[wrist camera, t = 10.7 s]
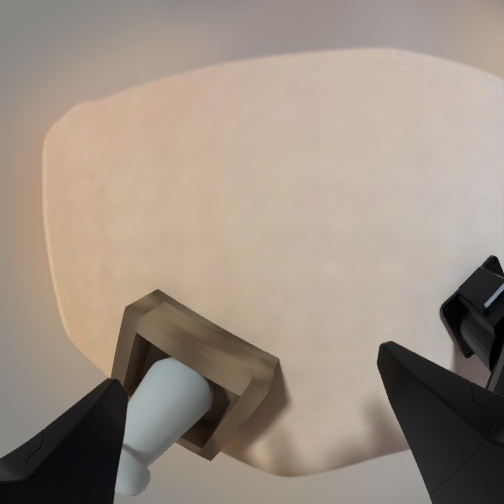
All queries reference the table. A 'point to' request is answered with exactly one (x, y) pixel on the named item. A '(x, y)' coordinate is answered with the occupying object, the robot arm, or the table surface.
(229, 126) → the table surface
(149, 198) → the table surface
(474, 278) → the robot arm
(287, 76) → the table surface
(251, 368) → the socket block
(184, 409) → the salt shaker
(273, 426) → the table surface
